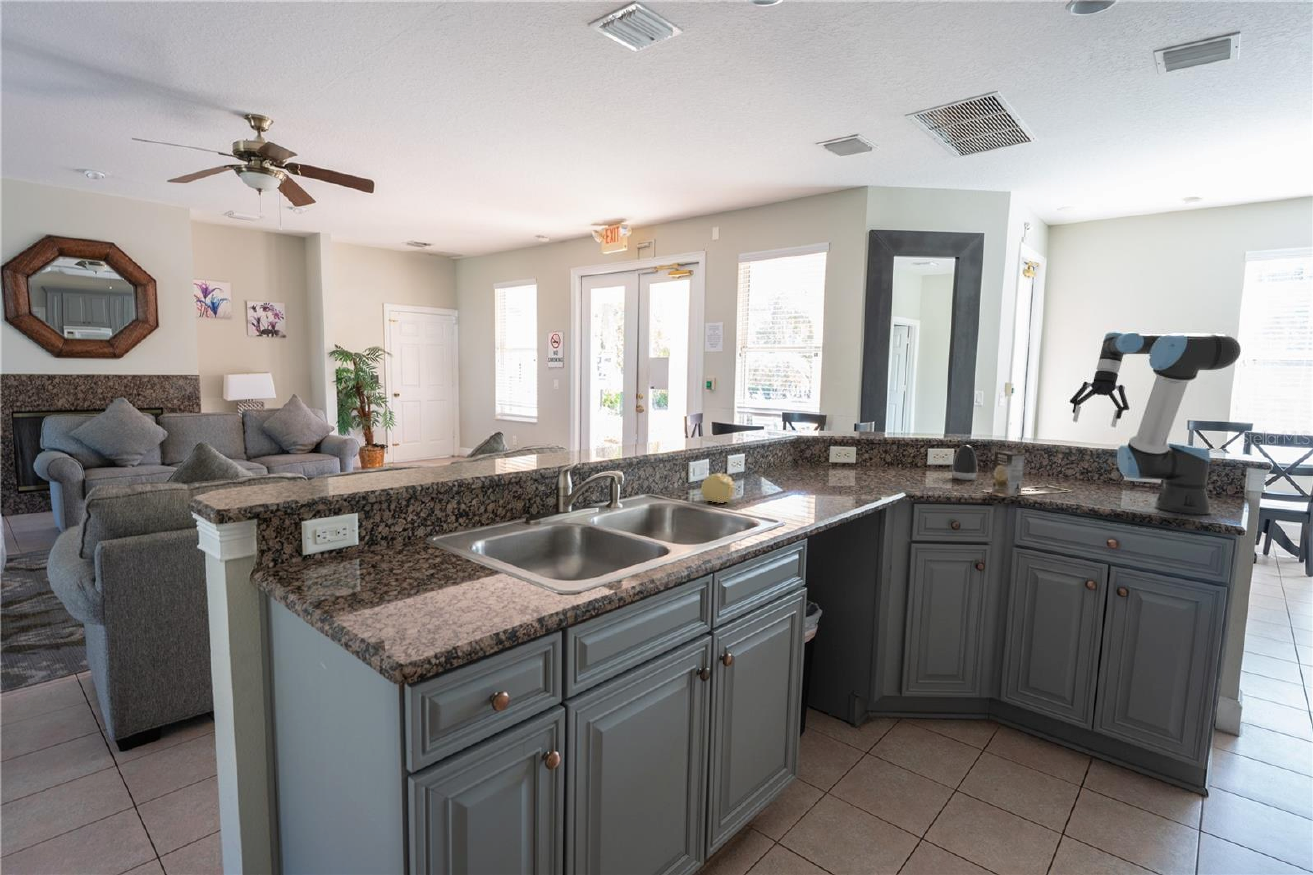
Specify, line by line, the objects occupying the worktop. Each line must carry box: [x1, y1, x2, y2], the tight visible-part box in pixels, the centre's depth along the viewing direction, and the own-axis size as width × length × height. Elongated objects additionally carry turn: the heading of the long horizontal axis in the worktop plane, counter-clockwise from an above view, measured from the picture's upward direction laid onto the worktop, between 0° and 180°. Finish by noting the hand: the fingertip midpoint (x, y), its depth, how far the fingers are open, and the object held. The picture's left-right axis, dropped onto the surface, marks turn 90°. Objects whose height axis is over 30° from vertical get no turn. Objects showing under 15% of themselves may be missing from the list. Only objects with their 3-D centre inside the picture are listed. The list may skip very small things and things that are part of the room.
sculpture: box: [700, 472, 736, 503], centre depth 236 cm, size 12×12×11 cm
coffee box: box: [991, 450, 1025, 495], centre depth 257 cm, size 9×6×16 cm
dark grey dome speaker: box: [951, 444, 979, 481], centre depth 287 cm, size 10×10×15 cm
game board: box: [981, 485, 1074, 498], centre depth 261 cm, size 12×35×1 cm, turn 109°
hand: (1093, 424), depth 260 cm, fingers open, 13 cm apart
